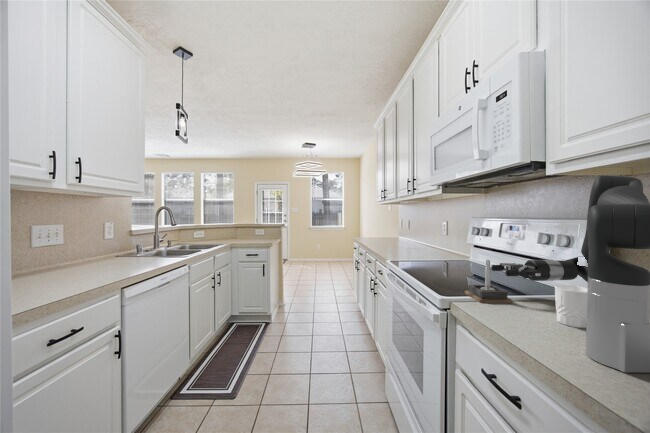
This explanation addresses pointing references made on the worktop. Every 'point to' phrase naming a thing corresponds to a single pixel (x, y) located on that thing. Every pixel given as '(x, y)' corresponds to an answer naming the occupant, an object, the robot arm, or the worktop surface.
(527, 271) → the robot arm
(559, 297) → the white cup
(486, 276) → the screw
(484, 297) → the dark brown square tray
